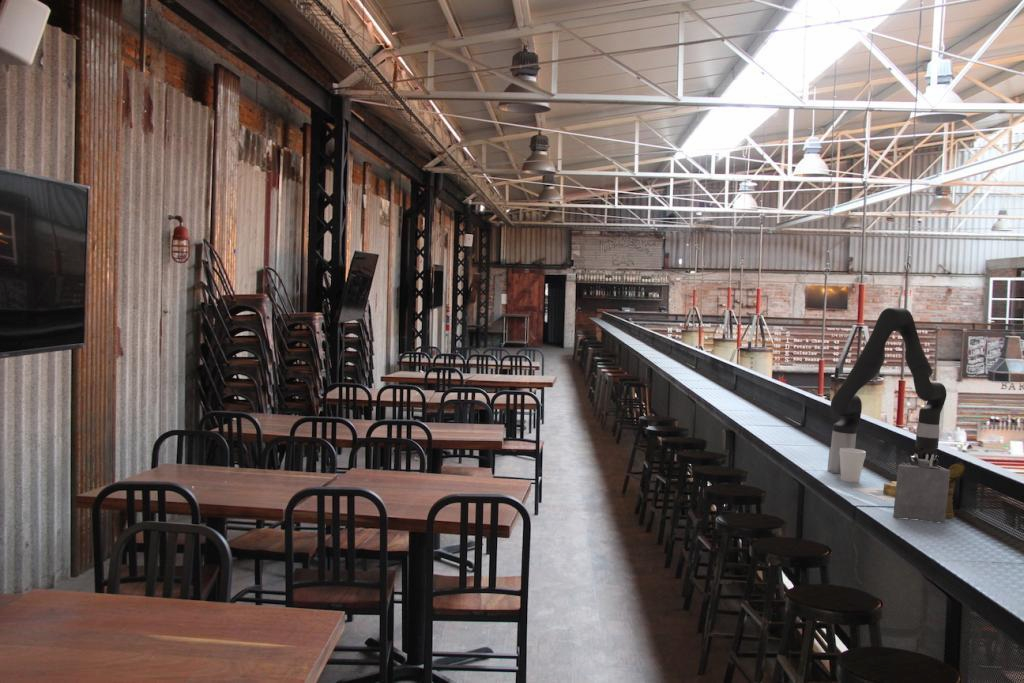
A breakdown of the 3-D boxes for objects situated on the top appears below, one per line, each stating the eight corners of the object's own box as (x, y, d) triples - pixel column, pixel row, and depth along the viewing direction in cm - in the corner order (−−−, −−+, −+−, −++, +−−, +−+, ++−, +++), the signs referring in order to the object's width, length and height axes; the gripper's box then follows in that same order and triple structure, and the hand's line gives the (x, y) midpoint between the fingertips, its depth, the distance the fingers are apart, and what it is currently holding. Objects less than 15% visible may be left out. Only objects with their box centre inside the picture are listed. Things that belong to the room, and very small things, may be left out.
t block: (877, 490, 298) (878, 481, 298) (897, 490, 301) (898, 481, 300) (896, 497, 288) (897, 488, 288) (917, 497, 291) (918, 488, 291)
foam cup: (862, 482, 316) (866, 450, 315) (862, 486, 308) (865, 453, 307) (837, 478, 320) (840, 446, 319) (836, 482, 311) (839, 450, 311)
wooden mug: (968, 517, 271) (974, 465, 270) (941, 519, 265) (946, 466, 264) (945, 510, 279) (950, 459, 278) (918, 511, 274) (923, 460, 272)
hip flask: (894, 518, 263) (900, 458, 261) (891, 514, 267) (896, 456, 265) (946, 523, 260) (952, 463, 259) (941, 520, 264) (948, 461, 263)
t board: (850, 490, 300) (851, 487, 300) (890, 490, 305) (890, 487, 304) (884, 503, 282) (885, 500, 282) (926, 503, 287) (926, 500, 287)
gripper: (934, 434, 301) (930, 479, 302) (905, 433, 298) (901, 479, 299) (950, 437, 294) (945, 483, 295) (920, 436, 291) (916, 483, 291)
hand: (923, 481), depth 297 cm, fingers closed
